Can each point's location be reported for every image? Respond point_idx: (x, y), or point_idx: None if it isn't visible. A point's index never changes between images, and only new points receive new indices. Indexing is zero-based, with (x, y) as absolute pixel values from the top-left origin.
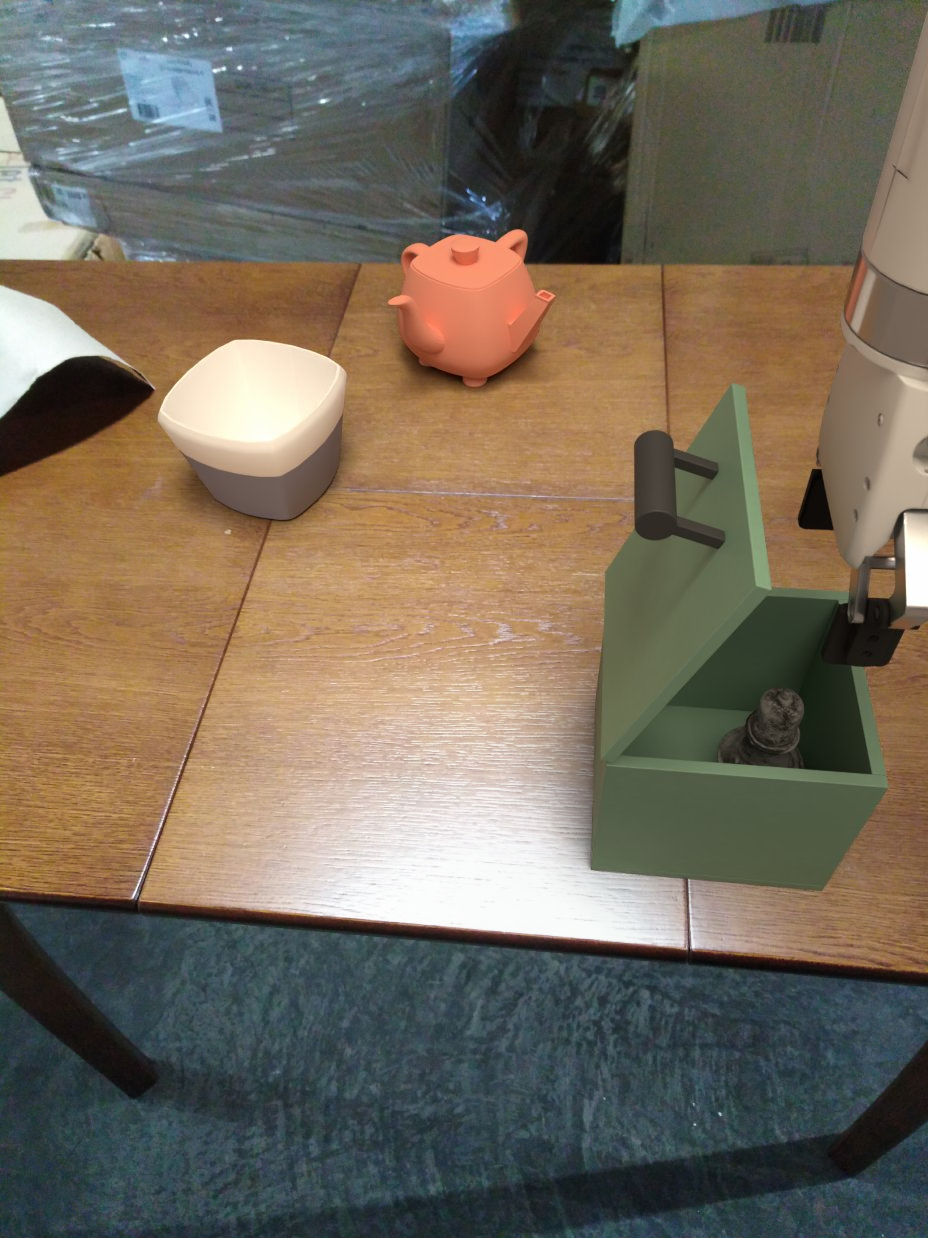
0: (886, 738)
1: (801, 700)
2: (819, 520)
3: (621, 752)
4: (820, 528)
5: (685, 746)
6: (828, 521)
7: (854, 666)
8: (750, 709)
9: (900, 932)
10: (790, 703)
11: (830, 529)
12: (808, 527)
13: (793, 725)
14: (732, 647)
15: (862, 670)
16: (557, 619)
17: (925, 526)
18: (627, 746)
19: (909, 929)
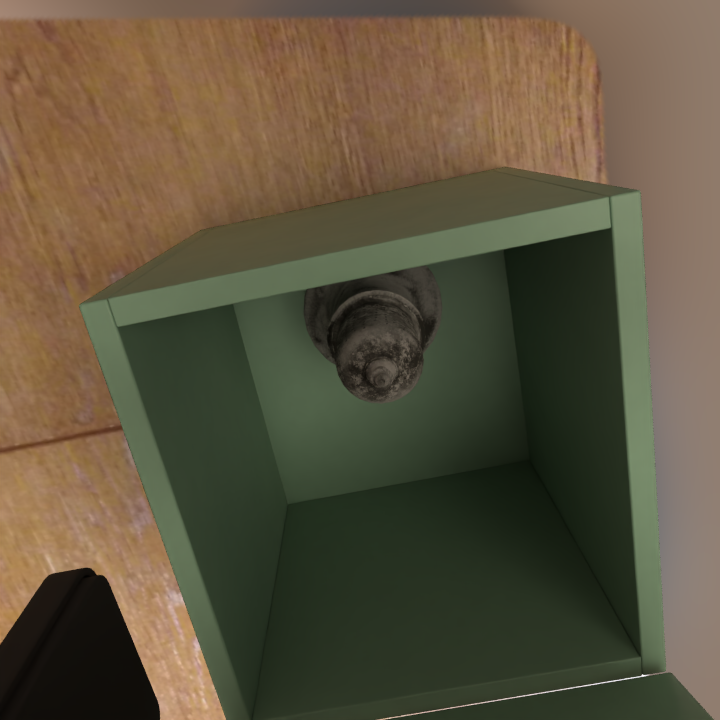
0: (199, 76)
1: (363, 334)
2: (133, 715)
3: (689, 693)
4: (139, 668)
5: (330, 389)
6: (122, 685)
7: (318, 280)
8: (233, 309)
9: (546, 45)
10: (391, 362)
11: (128, 636)
12: (154, 705)
13: (413, 335)
14: (217, 428)
15: (325, 261)
16: (157, 586)
17: None
18: (699, 704)
19: (538, 31)
